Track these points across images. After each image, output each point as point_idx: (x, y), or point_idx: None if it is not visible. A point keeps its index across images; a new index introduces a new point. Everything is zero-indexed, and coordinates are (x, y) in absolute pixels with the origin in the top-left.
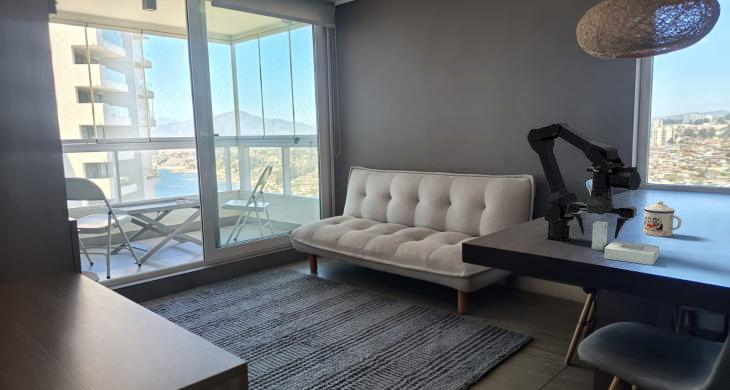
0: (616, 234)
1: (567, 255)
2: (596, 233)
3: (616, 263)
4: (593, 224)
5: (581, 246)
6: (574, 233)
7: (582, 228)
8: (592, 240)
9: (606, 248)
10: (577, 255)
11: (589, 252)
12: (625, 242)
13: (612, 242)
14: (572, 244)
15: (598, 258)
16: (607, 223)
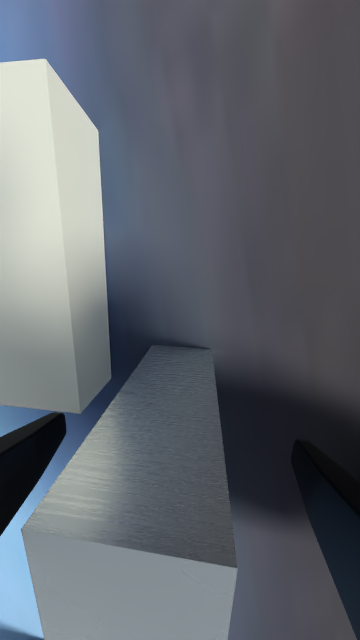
0: (19, 434)
1: (339, 30)
2: (179, 409)
3: (4, 30)
4: (225, 537)
5: (273, 375)
6: (340, 622)
7: (356, 497)
8: (212, 373)
9: (33, 64)
10: (265, 92)
11: (206, 244)
12: (4, 382)
13: (65, 338)
14: (330, 399)
15: (125, 101)
16: None
